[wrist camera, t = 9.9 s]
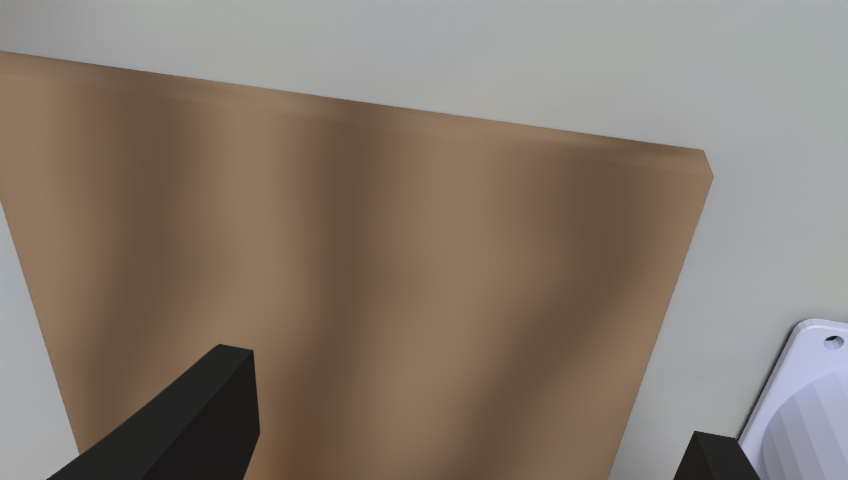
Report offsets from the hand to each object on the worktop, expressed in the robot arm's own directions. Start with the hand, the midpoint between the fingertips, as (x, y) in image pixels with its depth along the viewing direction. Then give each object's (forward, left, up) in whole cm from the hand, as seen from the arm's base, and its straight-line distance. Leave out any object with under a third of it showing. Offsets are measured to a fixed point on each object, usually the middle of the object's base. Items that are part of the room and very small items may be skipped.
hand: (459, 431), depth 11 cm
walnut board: (+5, +11, -9) cm, 15 cm away
